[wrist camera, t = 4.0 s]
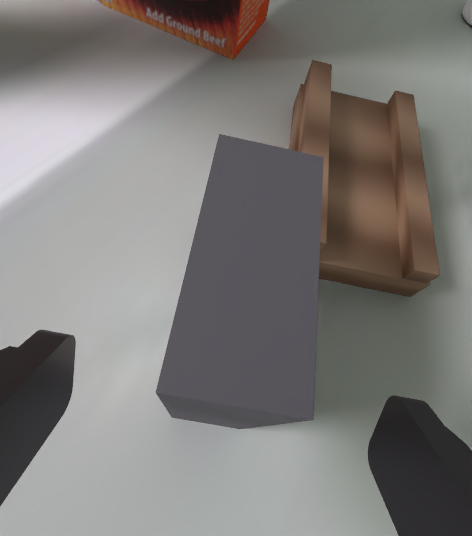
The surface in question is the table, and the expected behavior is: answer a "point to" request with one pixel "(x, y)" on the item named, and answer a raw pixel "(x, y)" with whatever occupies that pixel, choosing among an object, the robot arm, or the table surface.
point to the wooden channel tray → (367, 186)
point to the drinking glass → (467, 12)
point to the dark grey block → (249, 293)
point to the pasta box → (200, 20)
